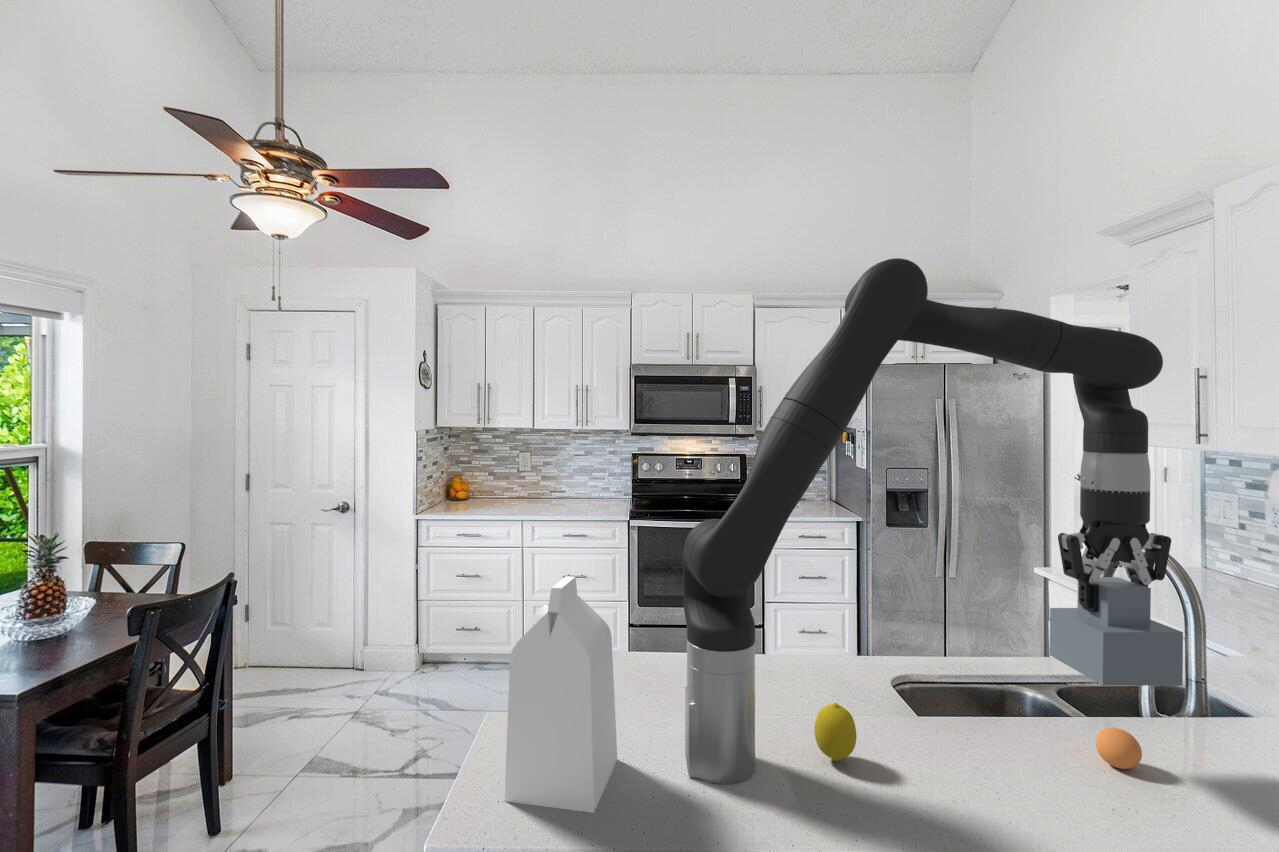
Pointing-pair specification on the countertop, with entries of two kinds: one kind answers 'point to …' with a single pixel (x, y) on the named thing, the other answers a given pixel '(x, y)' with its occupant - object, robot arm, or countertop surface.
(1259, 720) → the countertop surface
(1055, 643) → the gray stepped step block
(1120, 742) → the brown egg
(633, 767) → the countertop surface
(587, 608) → the milk
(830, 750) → the lemon
